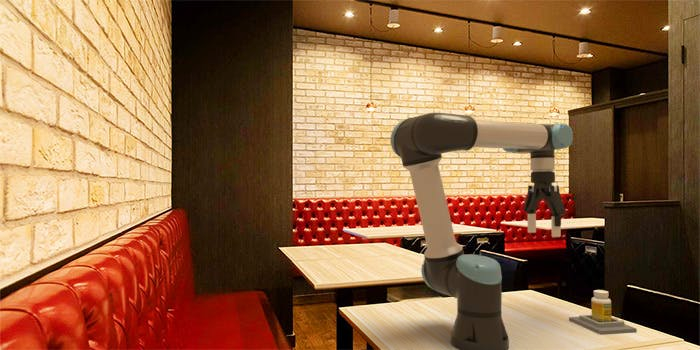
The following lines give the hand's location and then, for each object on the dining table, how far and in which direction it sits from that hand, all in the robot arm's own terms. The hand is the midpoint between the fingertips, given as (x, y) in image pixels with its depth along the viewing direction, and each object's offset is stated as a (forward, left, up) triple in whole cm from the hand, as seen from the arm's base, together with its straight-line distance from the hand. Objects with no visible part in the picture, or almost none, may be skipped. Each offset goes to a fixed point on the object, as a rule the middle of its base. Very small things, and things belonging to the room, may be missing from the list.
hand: (543, 234), depth 152 cm
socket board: (+10, -14, -27) cm, 32 cm away
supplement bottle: (+10, -14, -26) cm, 31 cm away
